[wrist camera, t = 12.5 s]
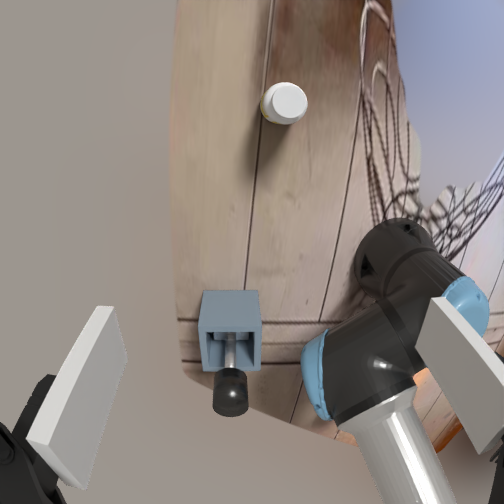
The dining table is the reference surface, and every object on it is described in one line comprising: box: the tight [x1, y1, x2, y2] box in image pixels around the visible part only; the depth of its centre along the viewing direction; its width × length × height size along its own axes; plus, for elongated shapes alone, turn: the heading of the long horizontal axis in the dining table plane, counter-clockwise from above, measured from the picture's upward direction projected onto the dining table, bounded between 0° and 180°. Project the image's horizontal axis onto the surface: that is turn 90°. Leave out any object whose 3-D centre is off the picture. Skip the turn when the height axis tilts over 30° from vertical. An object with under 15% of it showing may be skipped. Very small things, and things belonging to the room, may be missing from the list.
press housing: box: [198, 290, 262, 371], centre depth 51 cm, size 9×9×10 cm
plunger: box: [213, 332, 249, 417], centre depth 44 cm, size 6×6×18 cm
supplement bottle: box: [260, 82, 307, 124], centre depth 38 cm, size 5×5×10 cm
